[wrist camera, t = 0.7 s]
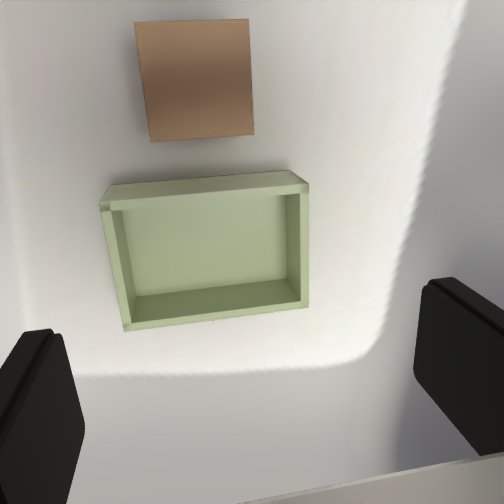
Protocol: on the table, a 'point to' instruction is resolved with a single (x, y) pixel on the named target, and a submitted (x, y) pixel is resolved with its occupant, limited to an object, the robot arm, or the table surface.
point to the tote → (208, 247)
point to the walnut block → (196, 78)
